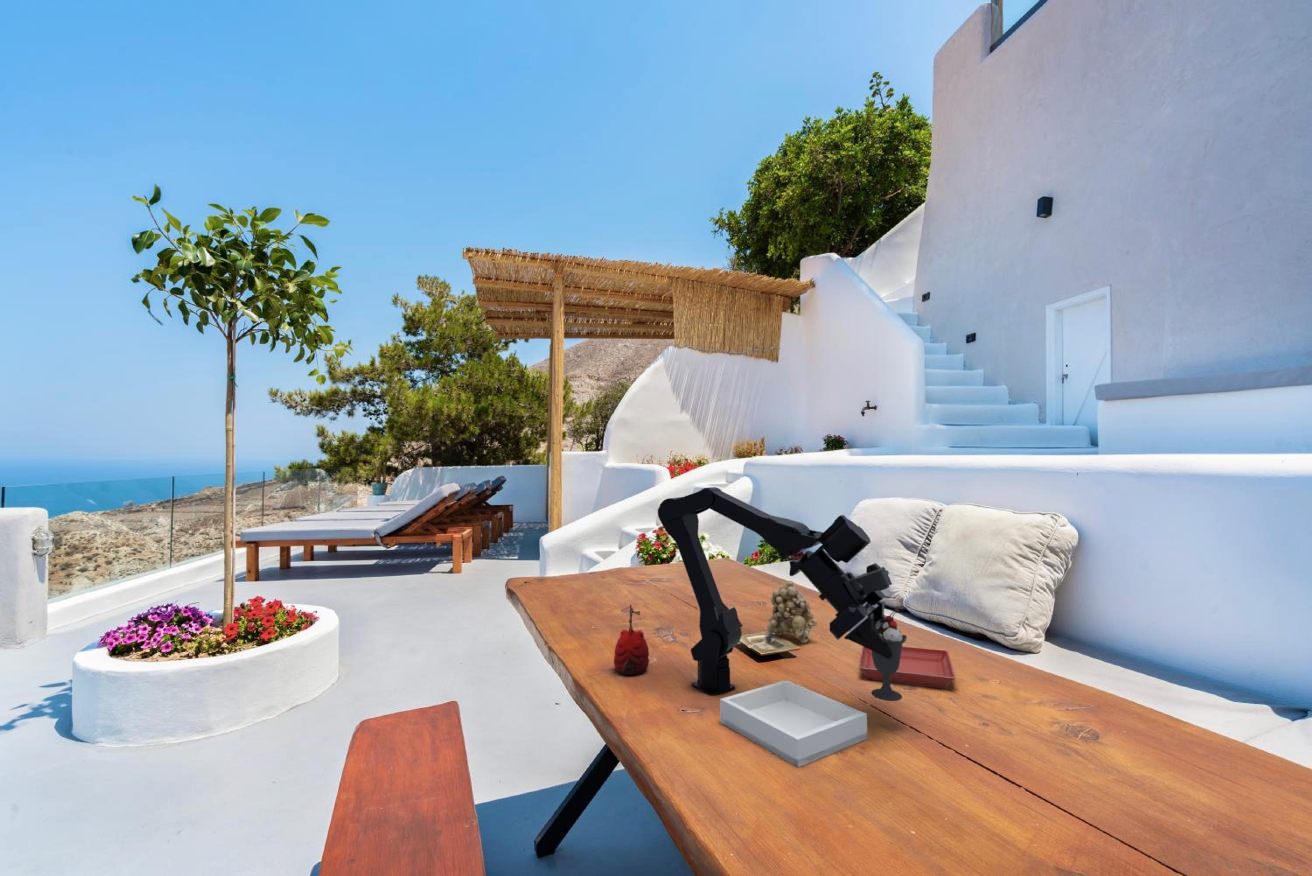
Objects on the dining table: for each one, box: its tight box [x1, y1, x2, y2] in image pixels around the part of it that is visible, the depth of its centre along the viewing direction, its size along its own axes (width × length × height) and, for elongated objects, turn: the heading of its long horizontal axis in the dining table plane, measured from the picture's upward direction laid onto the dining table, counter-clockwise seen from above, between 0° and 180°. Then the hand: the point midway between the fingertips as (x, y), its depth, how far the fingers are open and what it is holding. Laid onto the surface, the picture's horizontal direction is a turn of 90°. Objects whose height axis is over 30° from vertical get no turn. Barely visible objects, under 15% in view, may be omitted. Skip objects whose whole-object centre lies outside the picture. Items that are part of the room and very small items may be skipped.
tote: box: [719, 679, 868, 768], centre depth 99 cm, size 18×16×4 cm
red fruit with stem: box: [613, 604, 650, 676], centre depth 127 cm, size 8×7×15 cm
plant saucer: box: [858, 645, 956, 689], centre depth 126 cm, size 18×18×3 cm
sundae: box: [870, 608, 908, 702], centre depth 101 cm, size 7×7×15 cm
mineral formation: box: [766, 580, 818, 644], centre depth 150 cm, size 8×13×15 cm, turn 42°
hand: (894, 651), depth 100 cm, fingers closed on sundae, 6 cm apart
